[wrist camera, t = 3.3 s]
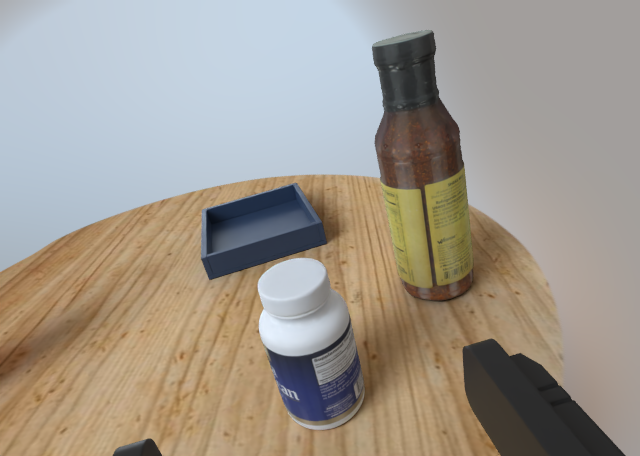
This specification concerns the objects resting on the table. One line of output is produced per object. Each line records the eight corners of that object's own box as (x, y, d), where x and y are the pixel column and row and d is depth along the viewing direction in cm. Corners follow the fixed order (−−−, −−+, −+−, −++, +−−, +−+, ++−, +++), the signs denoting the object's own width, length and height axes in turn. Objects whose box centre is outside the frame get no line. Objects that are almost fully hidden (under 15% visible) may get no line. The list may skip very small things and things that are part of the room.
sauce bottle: (471, 261, 38) (460, 20, 29) (477, 305, 32) (465, 27, 24) (398, 263, 40) (367, 39, 31) (392, 306, 34) (352, 50, 26)
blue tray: (300, 200, 59) (296, 182, 57) (327, 243, 46) (322, 222, 45) (208, 227, 57) (201, 209, 56) (209, 279, 44) (201, 258, 43)
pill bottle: (270, 399, 28) (227, 283, 24) (330, 354, 31) (301, 241, 27) (318, 451, 24) (277, 322, 20) (383, 394, 27) (359, 269, 23)
